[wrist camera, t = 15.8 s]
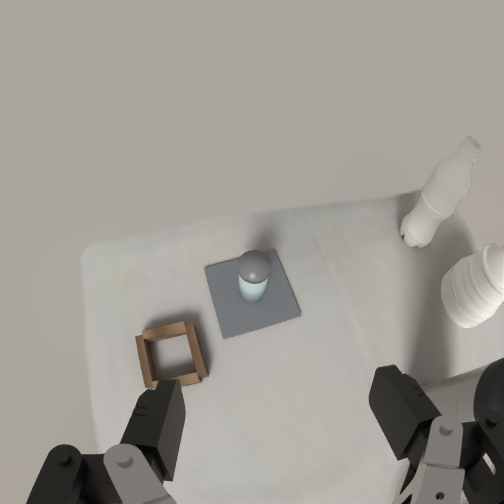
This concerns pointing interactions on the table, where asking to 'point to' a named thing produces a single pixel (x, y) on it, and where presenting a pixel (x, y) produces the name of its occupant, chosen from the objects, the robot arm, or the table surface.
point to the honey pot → (474, 286)
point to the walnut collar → (166, 333)
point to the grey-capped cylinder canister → (253, 275)
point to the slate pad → (241, 312)
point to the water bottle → (441, 194)
